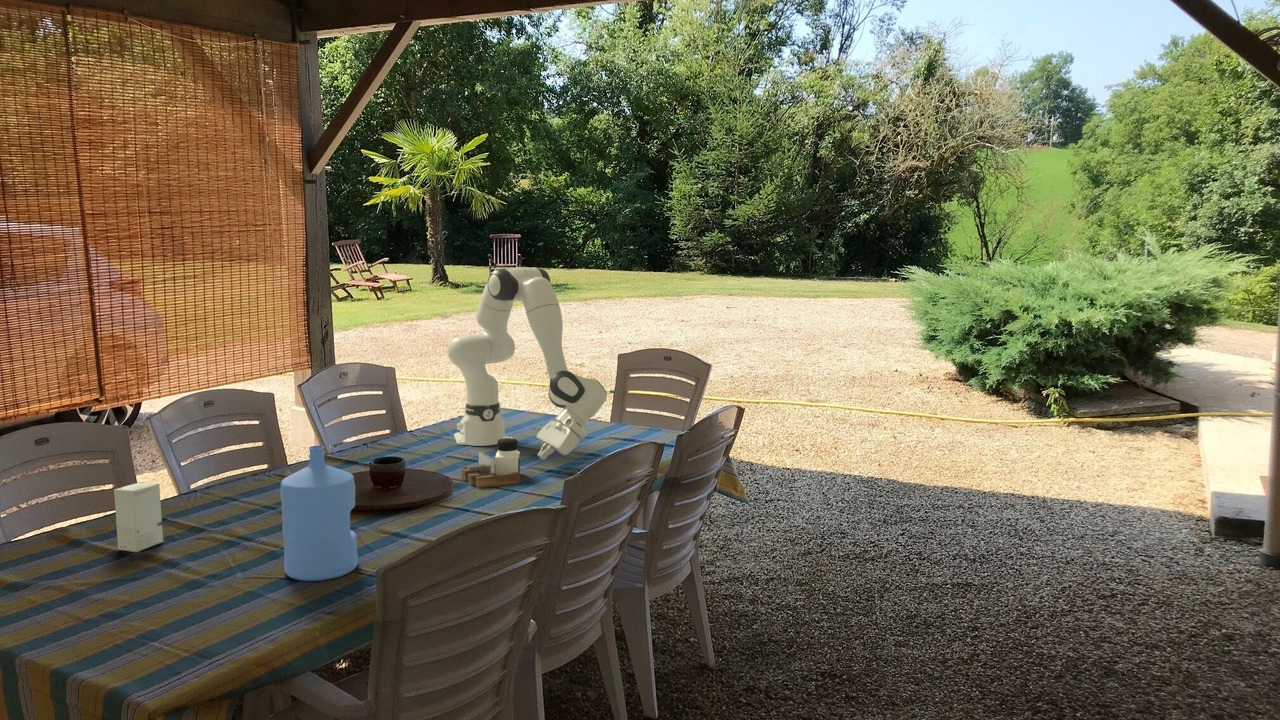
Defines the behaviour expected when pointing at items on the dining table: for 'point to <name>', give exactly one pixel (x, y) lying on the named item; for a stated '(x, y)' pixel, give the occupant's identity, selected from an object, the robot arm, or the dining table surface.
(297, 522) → the water jug
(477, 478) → the lane
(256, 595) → the dining table surface
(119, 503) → the skincare box
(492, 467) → the block
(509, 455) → the medicine bottle
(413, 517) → the dining table surface
